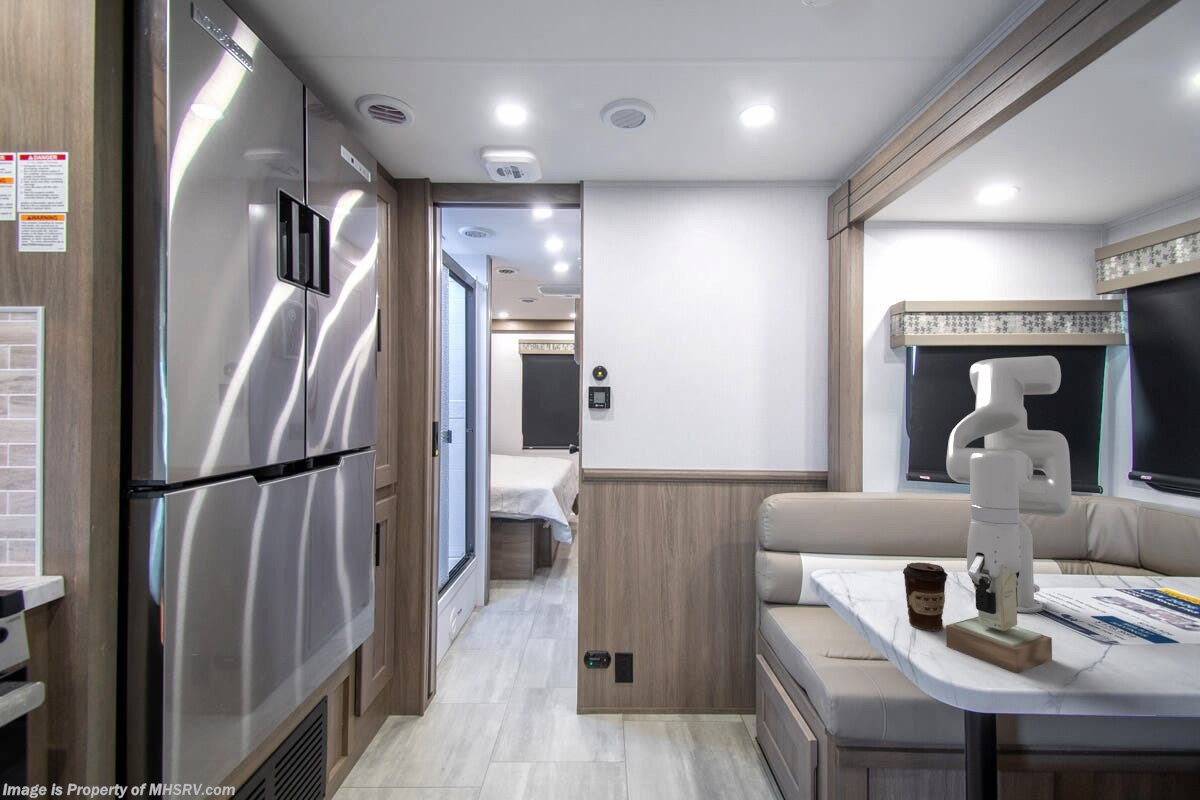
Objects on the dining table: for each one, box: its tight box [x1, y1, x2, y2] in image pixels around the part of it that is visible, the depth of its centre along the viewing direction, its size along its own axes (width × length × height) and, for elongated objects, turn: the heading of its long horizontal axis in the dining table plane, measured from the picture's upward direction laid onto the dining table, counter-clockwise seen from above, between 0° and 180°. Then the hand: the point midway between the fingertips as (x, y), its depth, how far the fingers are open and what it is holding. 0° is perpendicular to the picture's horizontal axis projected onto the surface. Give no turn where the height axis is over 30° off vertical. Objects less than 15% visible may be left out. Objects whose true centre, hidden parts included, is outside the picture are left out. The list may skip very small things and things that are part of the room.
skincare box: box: [977, 565, 1018, 631], centre depth 100 cm, size 6×4×12 cm
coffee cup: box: [902, 562, 949, 632], centre depth 113 cm, size 9×8×13 cm
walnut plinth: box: [945, 616, 1053, 674], centre depth 100 cm, size 12×12×4 cm
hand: (996, 607), depth 100 cm, fingers closed on skincare box, 6 cm apart
